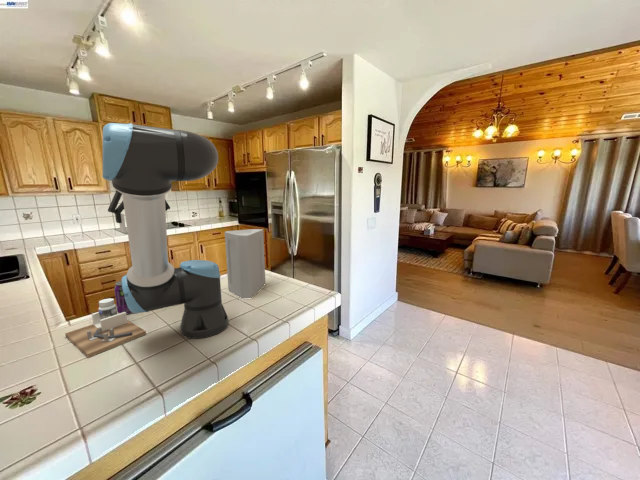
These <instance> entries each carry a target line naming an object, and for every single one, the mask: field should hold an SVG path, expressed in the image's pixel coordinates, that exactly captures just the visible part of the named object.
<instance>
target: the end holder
mask: <svg viewBox="0 0 640 480" xmlns="http://www.w3.org/2000/svg"><path fill="white" fill-rule="evenodd" d="M116 309H117V306H116ZM127 315H128V314H126V312H123V313H118V311H117V315H113V316H110V317H107V318H104V319H101V320H100V316H99V311H97V312H93V313H91V320H92V324H93V325H94V326H95V327H97V328H99V327H101V328H102V332H105V331H108V330H109V329H113V328H116V327H119V326H122V325H124V324H127V323H128V322H127V320H128V316H127Z"/></svg>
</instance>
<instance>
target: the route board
mask: <svg viewBox="0 0 640 480" xmlns="http://www.w3.org/2000/svg"><path fill="white" fill-rule="evenodd" d="M127 322H128V323H127V324H124V325H122V326H119V327H116V328H113V329H109V330H108V331H105V332H102V328H101V327H99V328H97V327H95V326H94V325H93V323H92V324H90V325H87V326H83V327H80V328H77V329H74V330H72V331H68V332H65V334H64V336H65V338H66V339H67V338H68V341H69V342H70V343H72V344H73V345H74V346H75V348H77V349H78V350H79V351H80V352H81V353H82V354H84V355H85V356H86V358H88V359H89V358H92V357H94V356H97V355H99V354H100V353H104V352H106V351H108V350H111V349H114V348H116V347H119V346H121V345H123V344H126V343H129V342H131V341H133V340H136V339H138V338H141V337H143V336H145V335H147V331H146V330H145V329H143V328H142V327H140V326H138V325H137V324H135V323H133V322H131V321H130V320H128V319H127ZM97 329H98V335H103V337H104V339H98V338H97V337H94V336H93V335H94V333H95V332H96V330H97ZM129 332H132V335H131V336H126V337H121V338H116V339H115V338H111V339H109V337H108V336H113V335H118V334H123V333H129Z"/></svg>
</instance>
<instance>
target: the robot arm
mask: <svg viewBox="0 0 640 480" xmlns="http://www.w3.org/2000/svg"><path fill="white" fill-rule="evenodd" d="M218 163H219V152H218V150H217V148H216V146H215V144H214V143H213V142H212V141H211V140H209V139H208V138H207V137H205V136H202V135H200V134H198V133H195V132H192V131H188V130H182V129H181V130H180V129H172V128H165V127H164V128H163V127H154V126H148V125H141V124H133V123H131V122H129V123H121V122H120V123H119V122H109V123H107V124H105V125H104V126H103V128H102V178H103V179H104V180H106V181H108V182H110V181H111V185H112V187H113V189H114V190H115V193H114V195H113V197H112V200H111V201H110V204H109V206H108V207H107V208H108V209H107V212H108V213H112V214H114V217H115V222H116V223H118V224H119V230H120V231H119V232H121V233H126V232H127V238H128V244H129V251H130V252H129V253H130V260H131V265H132V266H131V267H129V268H128V270H127V272H126V274H125V275H123V276H122V277H121V281H122V289H123V293H124V296H125V301H126V304H127V306H128V308H129V310H130V311H131V312H132V313H131V314H142V313H150V312H152V311H157V310H161V309H166V308H170V307H174V306H178V305H184V311H183V313H182V317H181V318H182V319H181V322H180V325H179V328H180V334H181V335H182V336H183V337H184V338H188V339H203V338H208V337H212V336H214V335H217V334H219V333H221V332H223V331H224V330H225V329H227V328H228V327H229V316H228V314H227V312H226V309H225V306H224V305H223V301H222V289H221V286H222V285H221V273H220V268H219V265H218V264H217V263H216V262H213V261H211V260H202V259H192V260H191V259H190V260H185V261H181V262H180V264H179V267H174V266H173V265H172V263H171V262H169V255H168V252H169V251H168V235H167V234H168V232H167V230H168V229H167V213H166V212H167V211H168V210H171V207H170V205H169V203H168V201H167V200H166V194H168V193H170V191H171V190H172V182H192V181H193V182H194V181H196V180H200V179H204V178H205V177H207V176H208V175H210V174H211V173H213V172H214V170H215V169H216V168H217V166H218ZM121 198H122V201H121V202H120V200H121ZM119 203H120V204H119ZM123 211H124V213H123Z"/></svg>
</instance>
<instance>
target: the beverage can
mask: <svg viewBox="0 0 640 480" xmlns="http://www.w3.org/2000/svg"><path fill="white" fill-rule="evenodd" d="M114 284H115V286H114V287H113V289H114V297H115V302H116V303H115V304H116V307H117V311H118V314H120V313H123V312H126V315H129V314H133V313H132V312H131V311H130V310H129V308H128V306H127V304H126V301H125V296H124V293H123V289H122V280H118V281H116V282H115V283H114Z"/></svg>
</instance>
